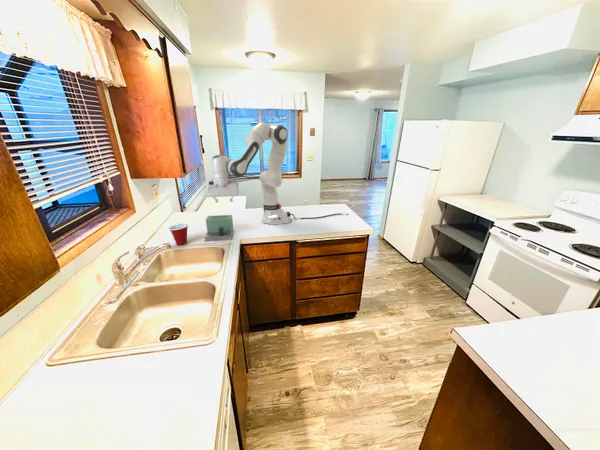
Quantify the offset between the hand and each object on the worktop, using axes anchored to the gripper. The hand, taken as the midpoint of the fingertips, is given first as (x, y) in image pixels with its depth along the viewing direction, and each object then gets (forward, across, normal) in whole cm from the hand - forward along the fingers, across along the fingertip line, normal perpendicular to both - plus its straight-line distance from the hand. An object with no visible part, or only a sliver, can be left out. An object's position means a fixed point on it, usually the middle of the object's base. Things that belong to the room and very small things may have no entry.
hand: (224, 201), depth 158 cm
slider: (+19, +3, +9) cm, 21 cm away
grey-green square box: (+22, +5, +5) cm, 23 cm away
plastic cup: (+22, +27, +15) cm, 38 cm away
